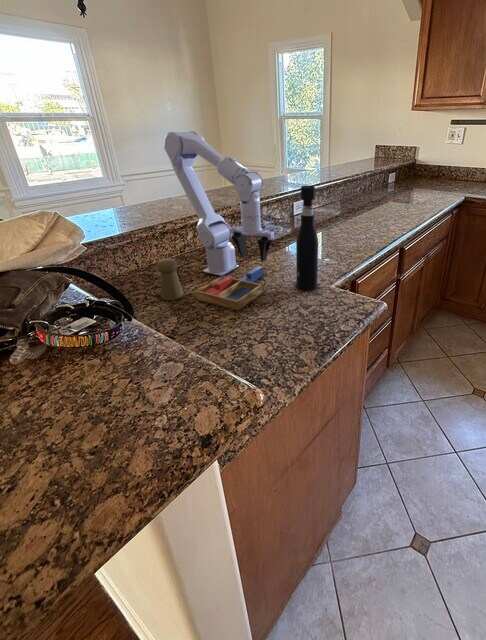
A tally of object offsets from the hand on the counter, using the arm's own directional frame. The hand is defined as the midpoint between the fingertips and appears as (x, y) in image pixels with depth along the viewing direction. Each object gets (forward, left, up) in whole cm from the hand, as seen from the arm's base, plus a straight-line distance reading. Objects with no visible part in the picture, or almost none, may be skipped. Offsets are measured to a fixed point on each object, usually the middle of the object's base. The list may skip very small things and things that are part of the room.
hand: (253, 258), depth 110 cm
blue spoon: (+2, 0, -7) cm, 7 cm away
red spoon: (+14, -3, -7) cm, 16 cm away
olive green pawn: (+21, -15, -7) cm, 26 cm away
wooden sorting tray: (+14, 0, -7) cm, 15 cm away
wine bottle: (-2, +18, -7) cm, 19 cm away
